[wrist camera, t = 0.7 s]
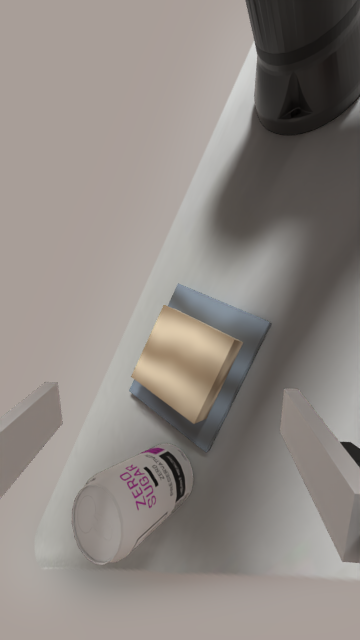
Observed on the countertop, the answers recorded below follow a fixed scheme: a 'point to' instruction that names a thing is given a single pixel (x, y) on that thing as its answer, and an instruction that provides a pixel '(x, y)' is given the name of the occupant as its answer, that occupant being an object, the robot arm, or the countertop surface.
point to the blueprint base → (237, 373)
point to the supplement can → (129, 502)
